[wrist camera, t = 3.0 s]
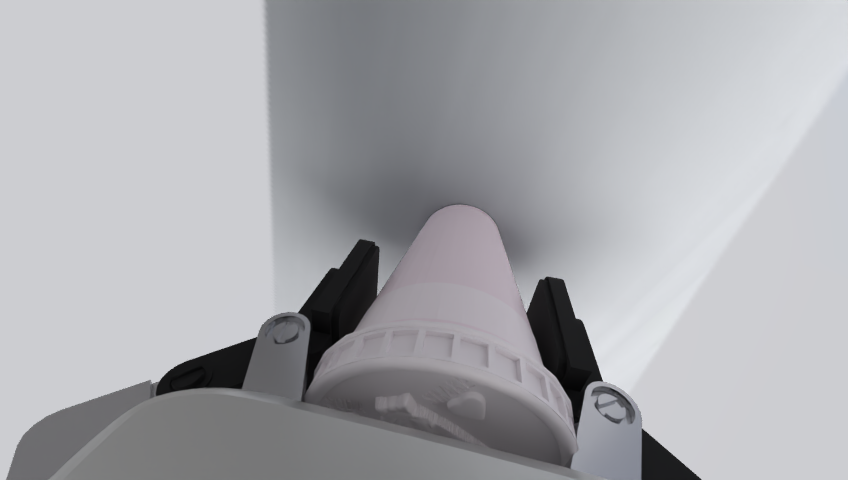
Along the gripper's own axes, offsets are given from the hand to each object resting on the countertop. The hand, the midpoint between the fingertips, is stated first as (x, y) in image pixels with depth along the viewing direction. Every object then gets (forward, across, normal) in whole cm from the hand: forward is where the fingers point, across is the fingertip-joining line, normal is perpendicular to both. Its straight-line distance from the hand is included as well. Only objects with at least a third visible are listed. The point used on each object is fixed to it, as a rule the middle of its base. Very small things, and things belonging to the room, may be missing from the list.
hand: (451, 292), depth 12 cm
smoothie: (+4, 0, 0) cm, 4 cm away
